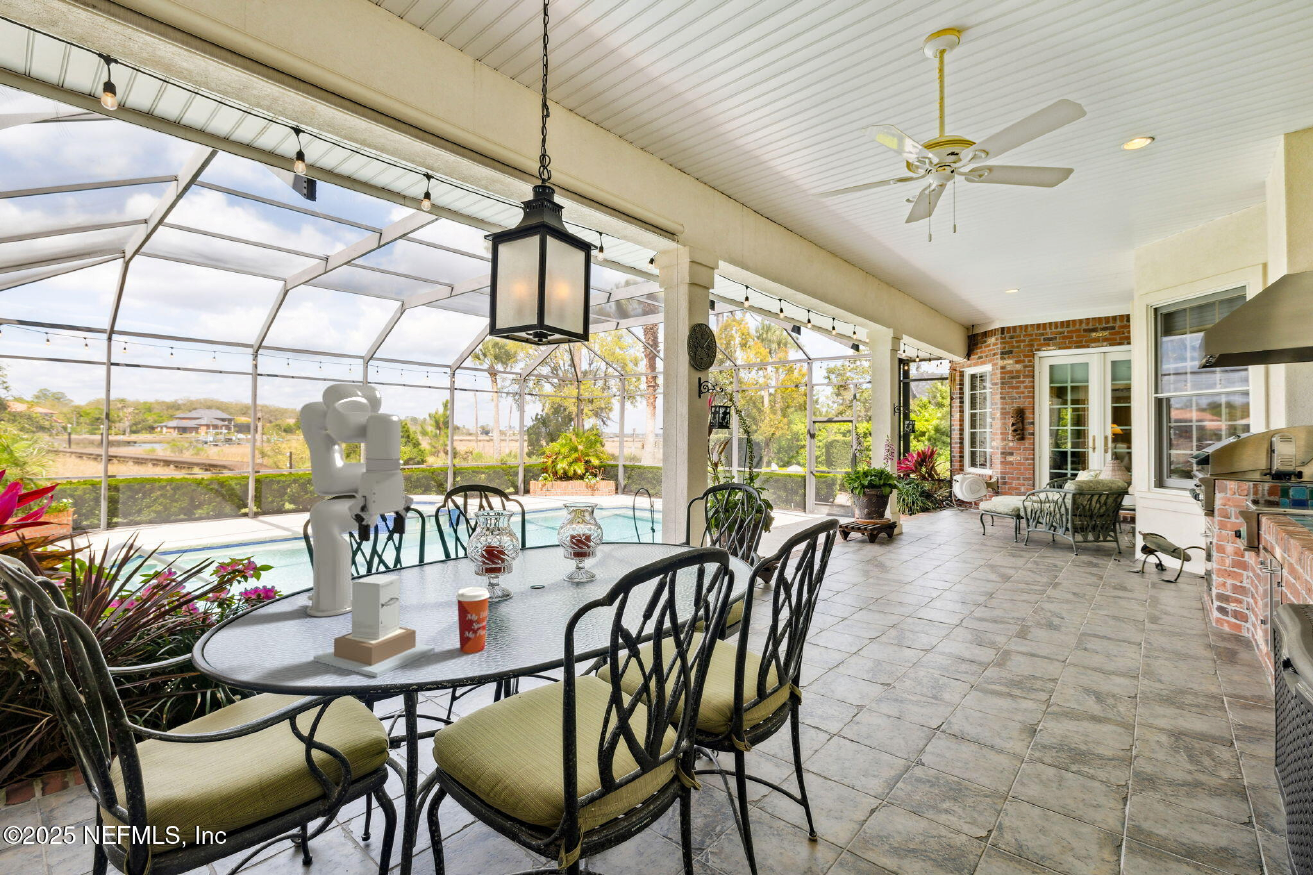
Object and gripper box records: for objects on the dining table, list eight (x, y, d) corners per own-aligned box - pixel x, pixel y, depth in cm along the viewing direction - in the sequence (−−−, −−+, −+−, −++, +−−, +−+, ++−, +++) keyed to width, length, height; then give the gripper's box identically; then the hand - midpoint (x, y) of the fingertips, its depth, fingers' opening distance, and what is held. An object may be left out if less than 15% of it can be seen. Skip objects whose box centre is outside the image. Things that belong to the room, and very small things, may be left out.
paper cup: (470, 657, 133) (471, 597, 132) (448, 650, 137) (449, 591, 136) (496, 647, 139) (497, 589, 139) (474, 640, 143) (475, 584, 143)
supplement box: (378, 640, 129) (379, 583, 129) (350, 636, 131) (350, 581, 130) (400, 629, 136) (401, 575, 136) (373, 626, 138) (374, 573, 138)
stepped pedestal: (313, 660, 130) (313, 637, 130) (374, 637, 144) (374, 616, 144) (377, 677, 122) (377, 652, 122) (434, 651, 136) (434, 629, 136)
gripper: (401, 462, 147) (400, 529, 148) (339, 467, 131) (338, 541, 132) (423, 464, 144) (422, 532, 144) (361, 469, 128) (360, 545, 129)
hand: (382, 536), depth 138 cm, fingers open, 9 cm apart
